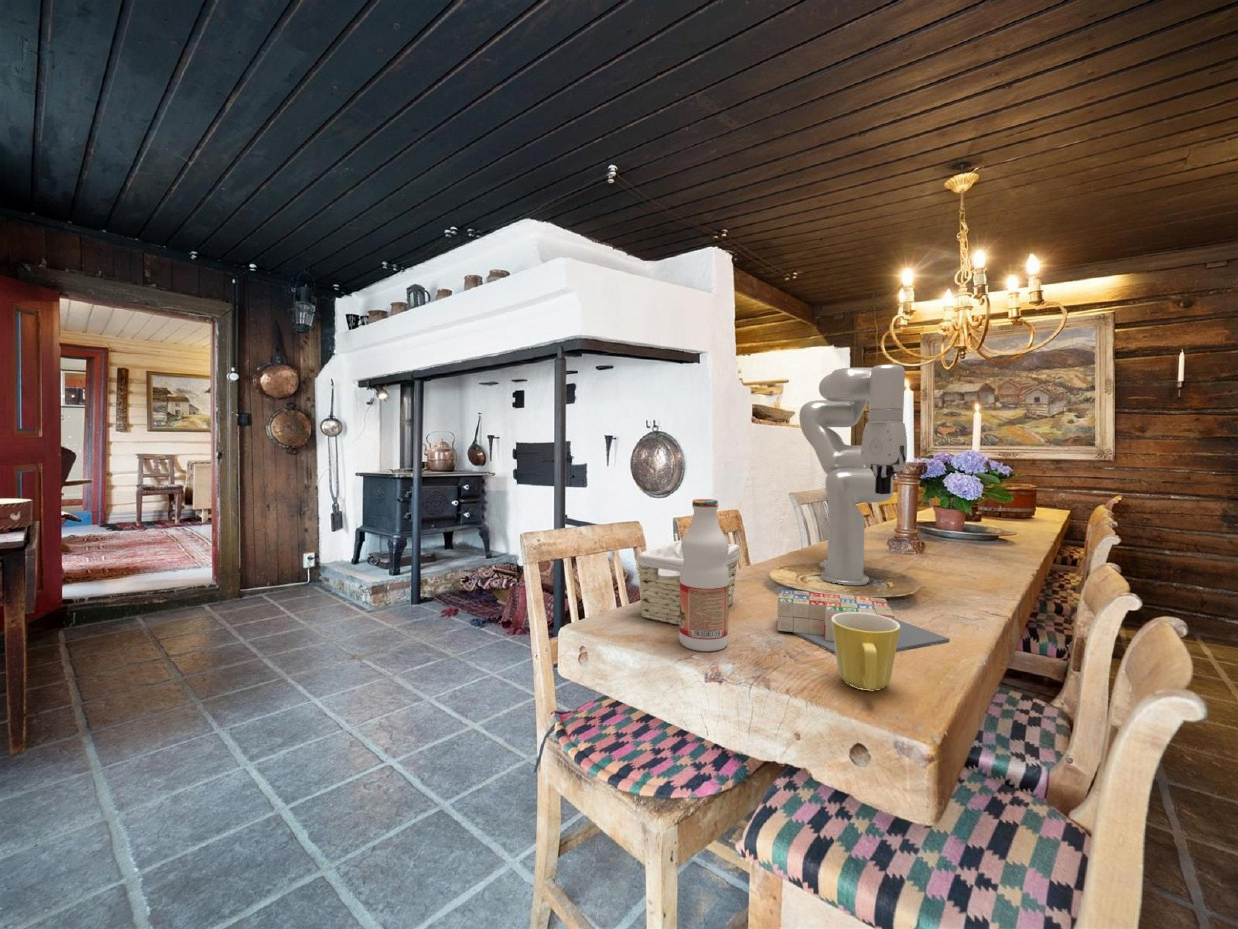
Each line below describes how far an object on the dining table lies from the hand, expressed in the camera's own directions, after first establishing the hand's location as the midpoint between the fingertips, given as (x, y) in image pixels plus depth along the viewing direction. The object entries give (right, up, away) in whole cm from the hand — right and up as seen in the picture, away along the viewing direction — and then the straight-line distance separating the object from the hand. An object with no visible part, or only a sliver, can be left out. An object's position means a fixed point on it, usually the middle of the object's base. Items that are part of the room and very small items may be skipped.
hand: (882, 493), depth 134 cm
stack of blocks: (-18, -24, -15) cm, 33 cm away
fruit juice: (-47, -28, -26) cm, 61 cm away
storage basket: (-47, -27, -6) cm, 55 cm away
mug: (-25, -29, -45) cm, 59 cm away
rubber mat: (-13, -28, -22) cm, 38 cm away
